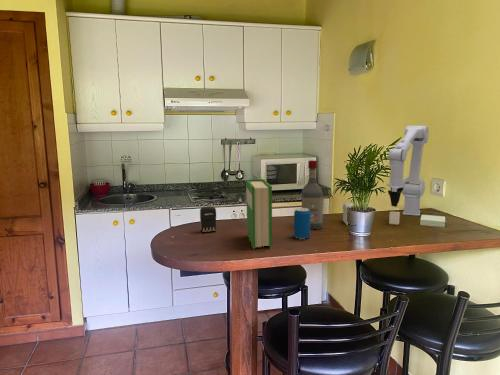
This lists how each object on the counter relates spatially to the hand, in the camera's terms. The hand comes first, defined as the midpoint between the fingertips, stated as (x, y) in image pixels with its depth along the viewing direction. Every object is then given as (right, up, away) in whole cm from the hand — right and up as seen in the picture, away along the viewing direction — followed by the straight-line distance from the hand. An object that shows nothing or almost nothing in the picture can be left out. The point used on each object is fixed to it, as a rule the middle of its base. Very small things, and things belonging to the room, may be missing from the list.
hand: (395, 204), depth 179 cm
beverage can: (-45, -13, -18) cm, 50 cm away
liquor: (-39, -10, -3) cm, 40 cm away
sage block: (+17, -9, 0) cm, 19 cm away
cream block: (0, -9, +2) cm, 9 cm away
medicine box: (-20, -9, +3) cm, 22 cm away
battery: (-85, -12, -8) cm, 86 cm away
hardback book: (-63, -14, -23) cm, 68 cm away
